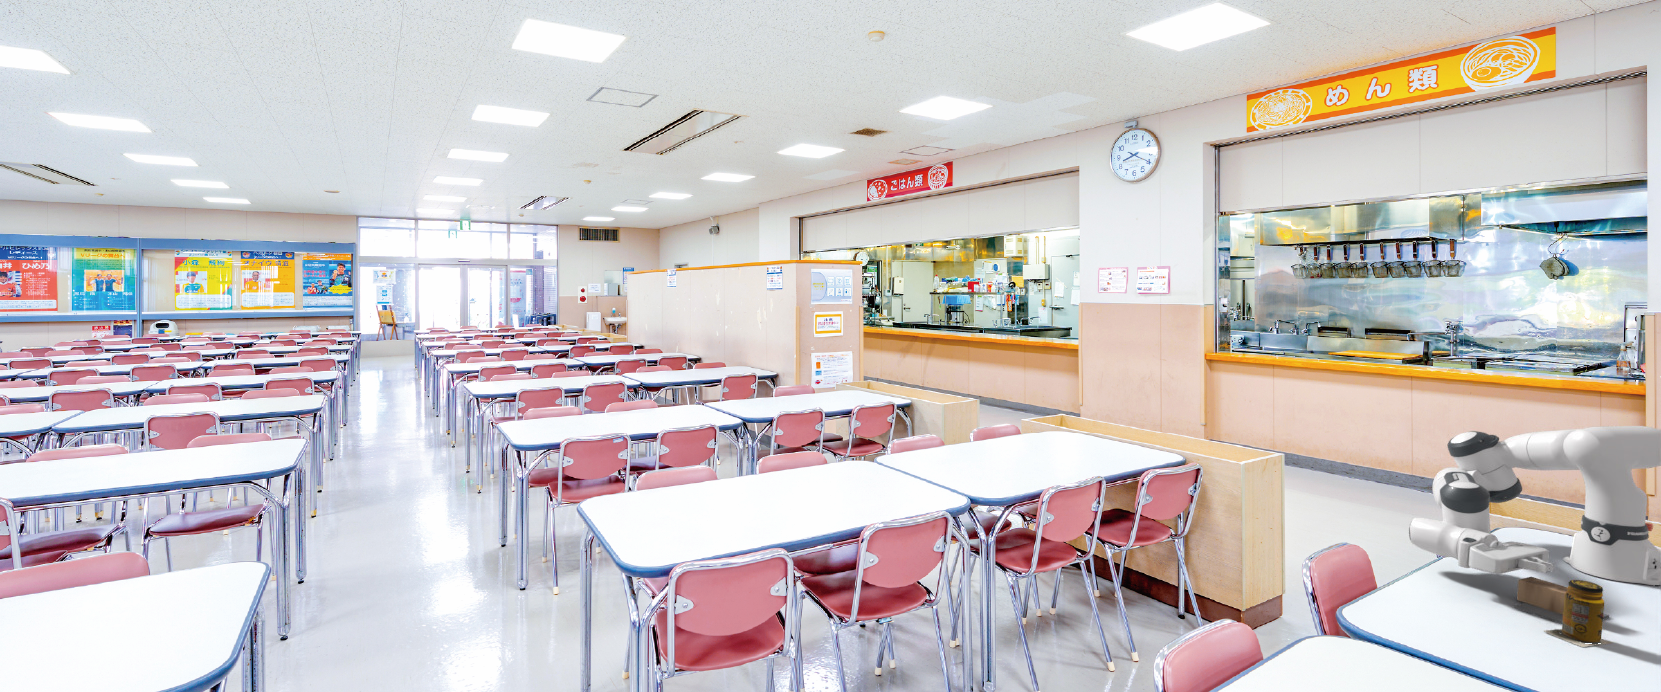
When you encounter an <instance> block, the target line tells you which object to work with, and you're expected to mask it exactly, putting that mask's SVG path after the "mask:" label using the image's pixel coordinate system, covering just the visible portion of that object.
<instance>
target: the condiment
mask: <svg viewBox="0 0 1661 692" xmlns="http://www.w3.org/2000/svg"><path fill="white" fill-rule="evenodd" d="M1567 584H1568V586H1567V587H1568V588H1567V590H1568V591H1567V592H1566V593H1565V599H1564V610H1563V622H1562V624H1561V628H1558V629H1557V628H1555V629H1550V630H1549V629H1548V630H1547V629H1546V630H1543V632H1545V633H1547V634H1549V635H1551V636H1553V637H1556V638H1558V639H1560V640H1563V641H1565V642H1568V643H1570V644H1573V645H1576V646H1579V647H1580V648H1581V647H1582V648H1584V647H1587V648H1588V647H1592V646H1602V645H1607V644H1609V645H1610V644H1613V641H1610V640H1606V639H1604V638H1602V633H1603V624H1604V619H1603V614H1605V613H1604V612H1605V611H1604V610H1605V599H1603V597H1604V589H1603V586H1601V585H1600V584H1597V583H1594V582H1591V581H1586V580H1583V579H1582V580H1581V579H1571V580H1568V583H1567ZM1585 643H1592V644H1585ZM1598 643H1601V644H1598ZM1595 644H1596V645H1595Z"/></svg>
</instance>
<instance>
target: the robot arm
mask: <svg viewBox="0 0 1661 692" xmlns="http://www.w3.org/2000/svg"><path fill="white" fill-rule="evenodd" d="M1447 450H1448V452H1449V454H1450V456H1451V457H1452V458H1453V460H1454V462H1455V464H1456V466H1457V467H1455V466H1452V467H1451V466H1450V467H1446V468H1442V469H1441V470H1440V471H1438V472H1437V474H1435V476H1434V479H1433V482H1432V495H1433V498H1434V500H1435V502H1436V504H1437V505H1438V508H1440V509H1441V513H1442V520H1437V519H1431V518H1426V517H1414V518H1413V519H1412V520H1411V522H1410V524H1409V528H1408V534H1409V535H1408V536H1409V540H1410V543H1411V544H1412V545H1414V546H1415V547H1416V548H1419V549H1421V550H1424V551H1426V552H1429V553H1432V554H1434V555H1437V556H1439V557H1445V558H1452V559H1455V560H1457V561H1458V562H1457V564H1458V566H1459V567H1461V568H1465V569H1469V568H1470V569H1474V570H1479V571H1481V572H1485V573H1490V574H1499V575H1502V574H1506V573H1511V572H1515V571H1519V570H1526V571H1527V570H1528V571H1535V572H1540V573H1545V574H1546V573H1549V572H1553V571H1554V565H1553V563H1551V562H1549V558H1550V557H1549V555H1550V551H1549V549H1547V548H1545V547H1541V546H1537V545H1533V544H1529V543H1523V542H1518V541H1506V542H1501V541H1500V540H1499V539H1498V538H1497V536H1496V535H1494V534H1493V533H1491V517H1490V503H1493V504H1500V503H1506V502H1509V501H1512V500H1514V499H1516V498H1517V497H1519V496H1520V495H1521V494H1522V492H1523V486H1522V482H1521V480H1520V478H1519V477H1517V475H1516V474H1515V472H1514V470H1513V469H1514V468H1517V469H1521V470H1523V469H1525V470H1530V471H1531V470H1532V471H1580V473H1581V476H1582V478H1583V481H1584V485H1585V486H1584V487H1585V496H1584V497H1585V499H1584V500H1585V501H1584V503H1585V504H1584V514H1582V516H1581V520H1580V529H1581V530H1579V531H1578V532H1575V533H1574V535H1573V539H1572V545H1571V550H1570V556H1565V557H1563V561H1564V562H1566V563H1567V564H1569V565H1571V567H1572V568H1574V569H1575V570H1578V571H1580V572H1582V573H1585V574H1588V575H1591V576H1595V577H1599V578H1602V579H1607V580H1612V581H1617V582H1624V583H1634V584H1643V585H1649V586H1655V585H1660V586H1661V550H1660V549H1658V548H1657V547H1656V546H1655V544H1653V543H1652V541H1651V540H1650V539H1649V538H1650V535H1649V534H1650V533H1649V532H1652V531H1653V528H1654V525H1653V523H1648V522H1646V519H1647V507H1648V496H1647V494H1646V492H1645V491H1644V490H1642V489H1641V488H1640V487H1638V486H1637V485H1636V483H1635V481H1634V479H1633V475H1632V472H1633V471H1632V470H1637V469H1639V470H1641V469H1642V470H1643V469H1652V468H1658V467H1661V428H1655V427H1653V426H1644V425H1618V426H1617V425H1614V426H1613V425H1611V426H1609V425H1608V426H1607V425H1606V426H1589V427H1584V428H1575V429H1571V428H1570V429H1557V430H1544V431H1533V432H1526V433H1521V434H1515V435H1513V436H1510V437H1508V438H1506V439H1504V440H1500V437H1499V436H1497V435H1496V434H1488V433H1486V432H1484V431H1478V430H1477V431H1476V430H1470V431H1467V432H1461V433H1459V434H1457V435H1455V436H1453V437H1452V438H1450V439H1449V441H1448V443H1447Z"/></svg>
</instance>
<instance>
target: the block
mask: <svg viewBox="0 0 1661 692" xmlns="http://www.w3.org/2000/svg"><path fill="white" fill-rule="evenodd" d="M1567 588H1568V586H1565V585H1561V584H1558V583H1554V582H1551V581H1547V580H1544V579H1541V578H1537V577H1534V576H1529V577H1524V578H1519V579H1518V583H1517V595H1516V598H1517V599H1516V600H1517V601H1519V602H1522V603H1528V604H1532V605H1535V606H1538V607H1541V608H1544V609H1547V610H1550V611H1553V612H1556V613H1559V614H1562V615H1563V610H1564V599H1565V593H1566V592H1567V591H1568V590H1567Z"/></svg>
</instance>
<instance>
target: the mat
mask: <svg viewBox="0 0 1661 692" xmlns="http://www.w3.org/2000/svg"><path fill="white" fill-rule="evenodd" d="M1513 609H1516V610H1519V611H1522V612H1525V613H1528V614H1531V615H1534V616H1537V617H1539V616H1540V617H1541V618H1543V619H1546V620H1548V621H1551V622H1555V623H1557V624H1561V625H1562V622H1563V615H1562V614H1559V613H1556V612H1553V611H1550V610H1547V609H1544V608H1541V607H1538V606H1535V605H1532V604H1528V603H1525V602H1522V603H1518V604H1514V605H1513ZM1609 618H1610V614H1607V613H1604V614H1603V620H1606V619H1609Z"/></svg>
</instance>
